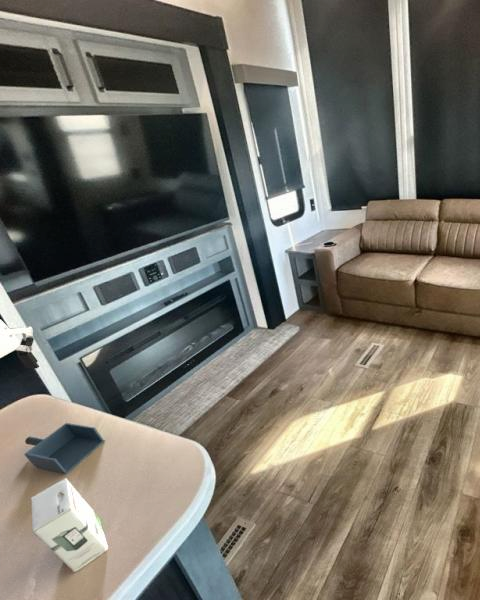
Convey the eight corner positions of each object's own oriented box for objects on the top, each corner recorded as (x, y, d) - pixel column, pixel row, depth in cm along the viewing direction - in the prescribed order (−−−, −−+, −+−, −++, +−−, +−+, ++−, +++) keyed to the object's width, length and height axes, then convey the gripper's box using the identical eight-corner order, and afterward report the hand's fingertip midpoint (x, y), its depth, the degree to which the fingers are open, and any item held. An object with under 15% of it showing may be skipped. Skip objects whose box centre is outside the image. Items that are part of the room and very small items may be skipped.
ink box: (67, 538, 64) (28, 496, 59) (101, 516, 67) (66, 475, 62) (73, 574, 59) (30, 532, 53) (109, 549, 61) (72, 507, 56)
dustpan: (14, 463, 81) (2, 449, 79) (55, 432, 89) (45, 419, 87) (66, 474, 77) (54, 460, 75) (105, 440, 84) (95, 427, 82)
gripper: (-7, 291, 77) (39, 356, 85) (-126, 338, 63) (-56, 410, 71) (17, 292, 75) (62, 358, 83) (-100, 340, 61) (-31, 414, 69)
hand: (8, 382), depth 77 cm, fingers open, 9 cm apart
